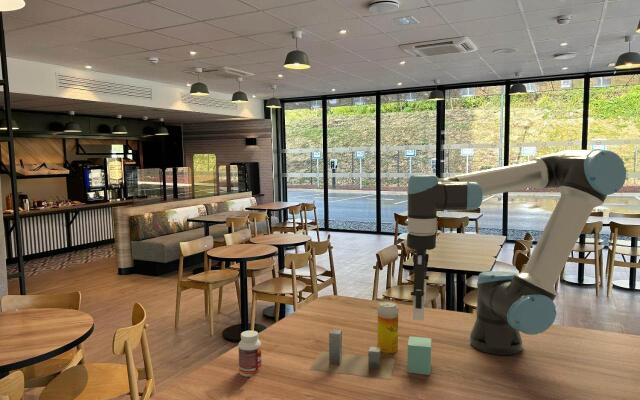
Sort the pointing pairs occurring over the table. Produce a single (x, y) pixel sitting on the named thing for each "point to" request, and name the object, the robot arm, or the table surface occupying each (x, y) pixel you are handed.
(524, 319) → the robot arm
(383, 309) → the beer can
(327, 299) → the table surface
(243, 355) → the pill bottle
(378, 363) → the short post
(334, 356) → the tall post
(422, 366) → the mint green toy brick
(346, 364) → the board
